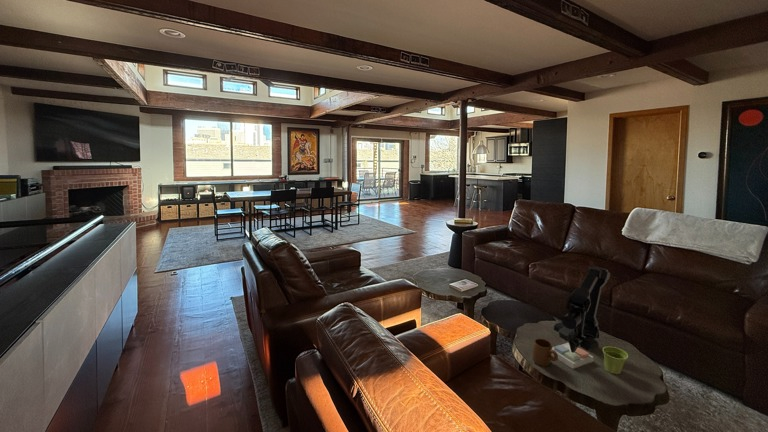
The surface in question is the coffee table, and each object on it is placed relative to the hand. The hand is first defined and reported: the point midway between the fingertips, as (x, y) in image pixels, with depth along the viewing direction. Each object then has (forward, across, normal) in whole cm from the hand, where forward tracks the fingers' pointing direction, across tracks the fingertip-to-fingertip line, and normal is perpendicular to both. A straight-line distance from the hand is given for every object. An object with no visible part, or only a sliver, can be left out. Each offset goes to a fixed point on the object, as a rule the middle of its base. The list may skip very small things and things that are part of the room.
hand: (572, 352), depth 164 cm
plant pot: (+6, +11, +12) cm, 17 cm away
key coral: (+3, 0, +6) cm, 6 cm away
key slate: (+3, -6, 0) cm, 7 cm away
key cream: (+4, -6, +6) cm, 9 cm away
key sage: (+3, 0, 0) cm, 3 cm away
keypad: (+5, -3, +3) cm, 7 cm away
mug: (+5, -4, -12) cm, 14 cm away
